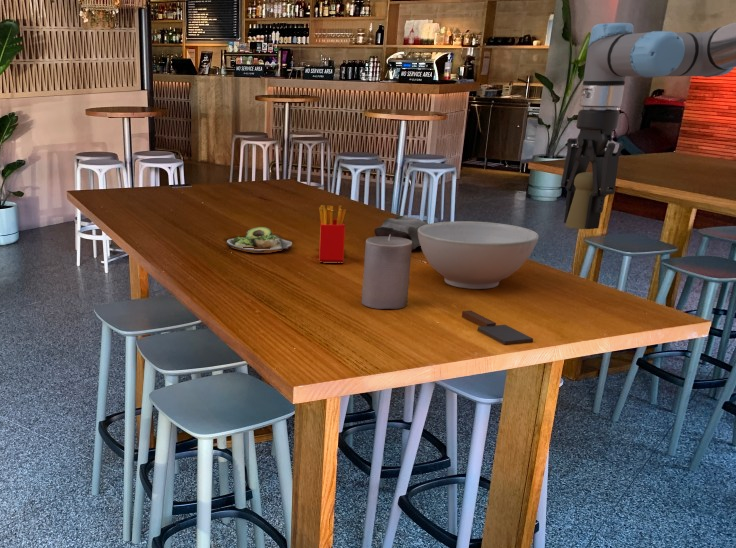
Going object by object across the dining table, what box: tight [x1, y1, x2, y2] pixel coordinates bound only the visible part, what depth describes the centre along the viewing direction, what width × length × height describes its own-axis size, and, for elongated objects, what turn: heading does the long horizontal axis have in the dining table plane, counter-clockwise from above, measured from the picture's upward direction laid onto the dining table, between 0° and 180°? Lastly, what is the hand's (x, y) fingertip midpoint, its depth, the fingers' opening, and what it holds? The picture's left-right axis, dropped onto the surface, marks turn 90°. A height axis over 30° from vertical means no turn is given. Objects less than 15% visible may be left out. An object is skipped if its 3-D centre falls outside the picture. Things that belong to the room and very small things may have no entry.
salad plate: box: [226, 226, 293, 252], centre depth 223 cm, size 19×18×5 cm
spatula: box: [461, 310, 534, 346], centre depth 154 cm, size 18×6×1 cm, turn 15°
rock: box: [373, 215, 429, 251], centre depth 224 cm, size 18×11×8 cm, turn 18°
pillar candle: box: [361, 234, 413, 310], centre depth 168 cm, size 10×10×15 cm
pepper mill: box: [564, 171, 593, 230], centre depth 163 cm, size 6×6×11 cm
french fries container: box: [318, 204, 348, 263], centre depth 207 cm, size 7×9×14 cm
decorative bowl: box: [418, 220, 540, 290], centre depth 185 cm, size 27×27×12 cm
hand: (580, 225), depth 165 cm, fingers closed on pepper mill, 6 cm apart
